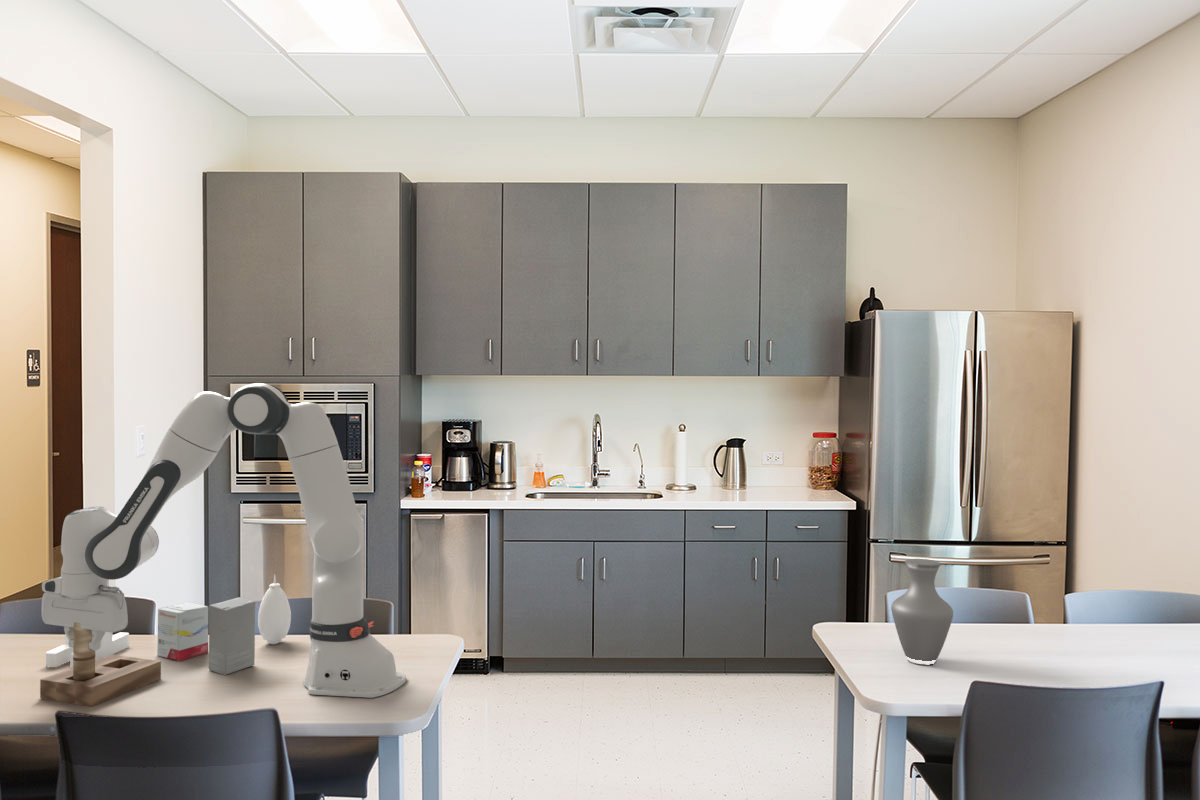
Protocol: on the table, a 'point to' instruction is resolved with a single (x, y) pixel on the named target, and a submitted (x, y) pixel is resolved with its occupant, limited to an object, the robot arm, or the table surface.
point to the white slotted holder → (108, 647)
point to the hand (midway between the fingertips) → (84, 648)
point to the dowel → (82, 654)
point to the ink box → (182, 631)
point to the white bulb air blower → (274, 614)
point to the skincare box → (231, 635)
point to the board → (101, 681)
